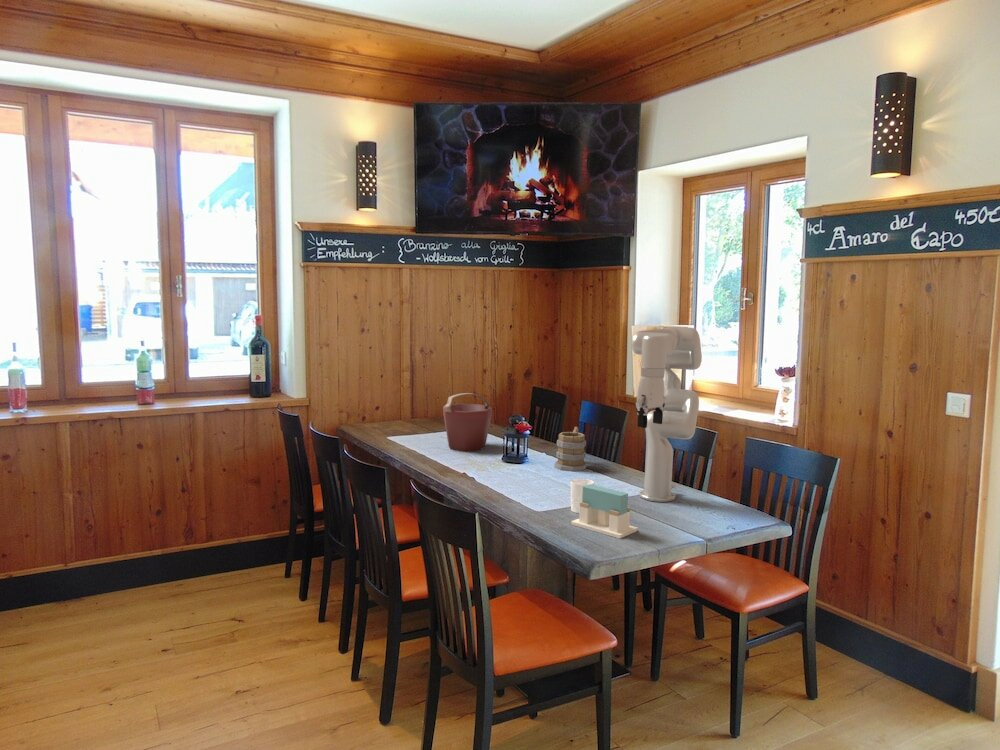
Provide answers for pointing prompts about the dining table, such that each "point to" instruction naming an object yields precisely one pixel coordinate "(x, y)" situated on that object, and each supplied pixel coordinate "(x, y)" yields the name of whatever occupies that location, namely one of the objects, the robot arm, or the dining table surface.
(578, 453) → the tankard
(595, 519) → the stand
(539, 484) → the dining table surface
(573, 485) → the white cup
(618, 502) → the teal bar
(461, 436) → the bucket
